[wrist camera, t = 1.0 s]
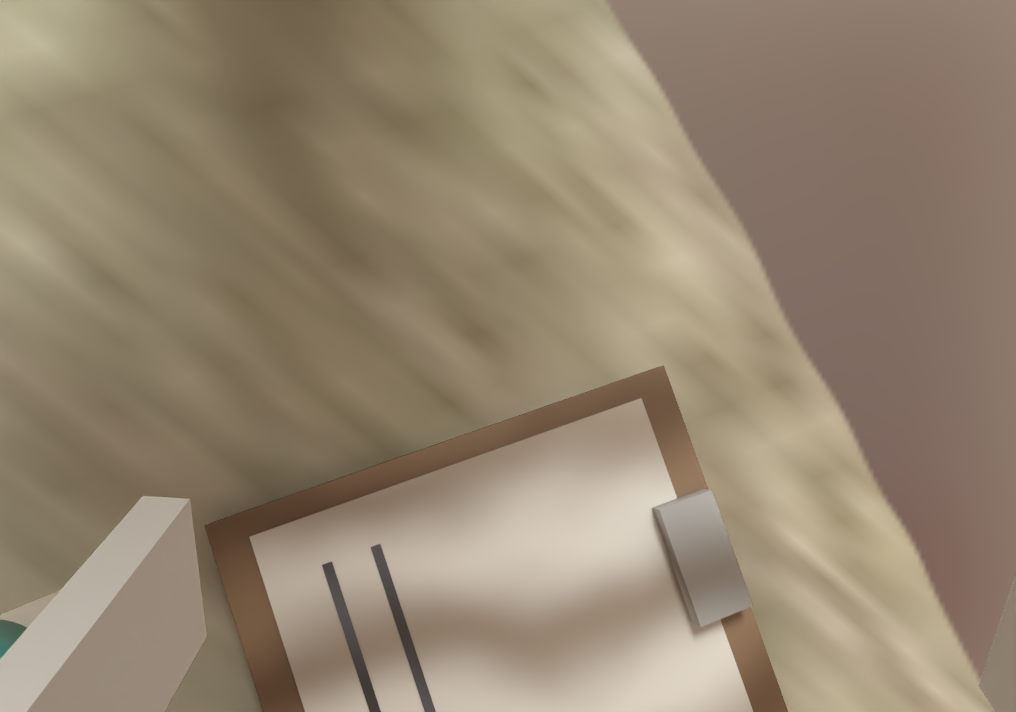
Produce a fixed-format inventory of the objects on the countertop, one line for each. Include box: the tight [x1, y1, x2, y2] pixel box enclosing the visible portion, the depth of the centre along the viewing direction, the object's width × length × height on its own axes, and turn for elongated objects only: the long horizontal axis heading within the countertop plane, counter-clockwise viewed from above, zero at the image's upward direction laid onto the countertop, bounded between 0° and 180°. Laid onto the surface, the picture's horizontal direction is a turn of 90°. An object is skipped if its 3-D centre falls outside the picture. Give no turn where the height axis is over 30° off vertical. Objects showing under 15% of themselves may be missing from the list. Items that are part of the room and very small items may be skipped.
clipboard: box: [205, 366, 788, 712], centre depth 33 cm, size 16×20×2 cm
